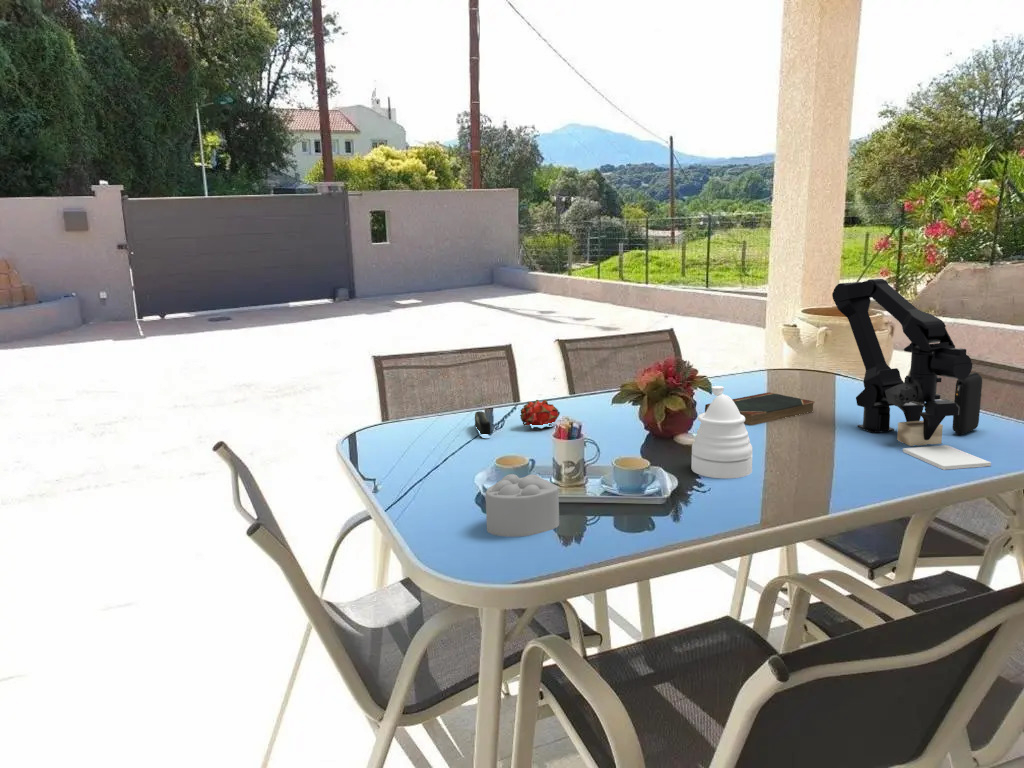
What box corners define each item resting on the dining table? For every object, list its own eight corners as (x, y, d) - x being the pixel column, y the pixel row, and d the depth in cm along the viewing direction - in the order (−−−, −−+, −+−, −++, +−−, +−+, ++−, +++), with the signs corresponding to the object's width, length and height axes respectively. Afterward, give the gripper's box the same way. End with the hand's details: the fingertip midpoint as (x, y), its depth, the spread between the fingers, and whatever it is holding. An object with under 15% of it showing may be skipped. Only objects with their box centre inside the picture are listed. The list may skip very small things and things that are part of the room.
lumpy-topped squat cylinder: (565, 526, 145) (564, 481, 143) (503, 542, 139) (501, 494, 137) (536, 510, 154) (534, 466, 152) (475, 524, 147) (473, 479, 146)
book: (751, 428, 210) (815, 413, 222) (752, 414, 209) (815, 401, 222) (704, 415, 225) (766, 403, 237) (704, 403, 224) (766, 391, 236)
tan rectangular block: (897, 440, 192) (898, 422, 191) (927, 438, 193) (929, 419, 192) (910, 446, 187) (911, 427, 187) (941, 443, 188) (942, 424, 188)
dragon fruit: (516, 436, 213) (556, 436, 218) (529, 423, 207) (570, 424, 212) (511, 407, 217) (550, 408, 222) (523, 393, 210) (564, 395, 215)
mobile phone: (492, 421, 205) (482, 407, 219) (480, 422, 204) (471, 408, 219) (492, 440, 206) (482, 425, 220) (481, 441, 205) (472, 426, 220)
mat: (902, 451, 183) (903, 448, 183) (946, 448, 184) (947, 445, 184) (943, 469, 169) (943, 466, 169) (990, 466, 171) (991, 462, 171)
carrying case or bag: (960, 438, 192) (964, 378, 190) (947, 435, 195) (951, 376, 192) (980, 430, 199) (985, 372, 196) (967, 428, 201) (972, 370, 198)
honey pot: (679, 465, 178) (680, 386, 175) (727, 458, 183) (729, 380, 179) (714, 481, 167) (716, 397, 163) (764, 473, 171) (767, 391, 168)
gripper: (869, 367, 195) (865, 429, 198) (917, 382, 177) (912, 449, 180) (911, 365, 197) (907, 426, 200) (963, 379, 178) (958, 446, 181)
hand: (919, 437), depth 190 cm, fingers closed on tan rectangular block, 5 cm apart
